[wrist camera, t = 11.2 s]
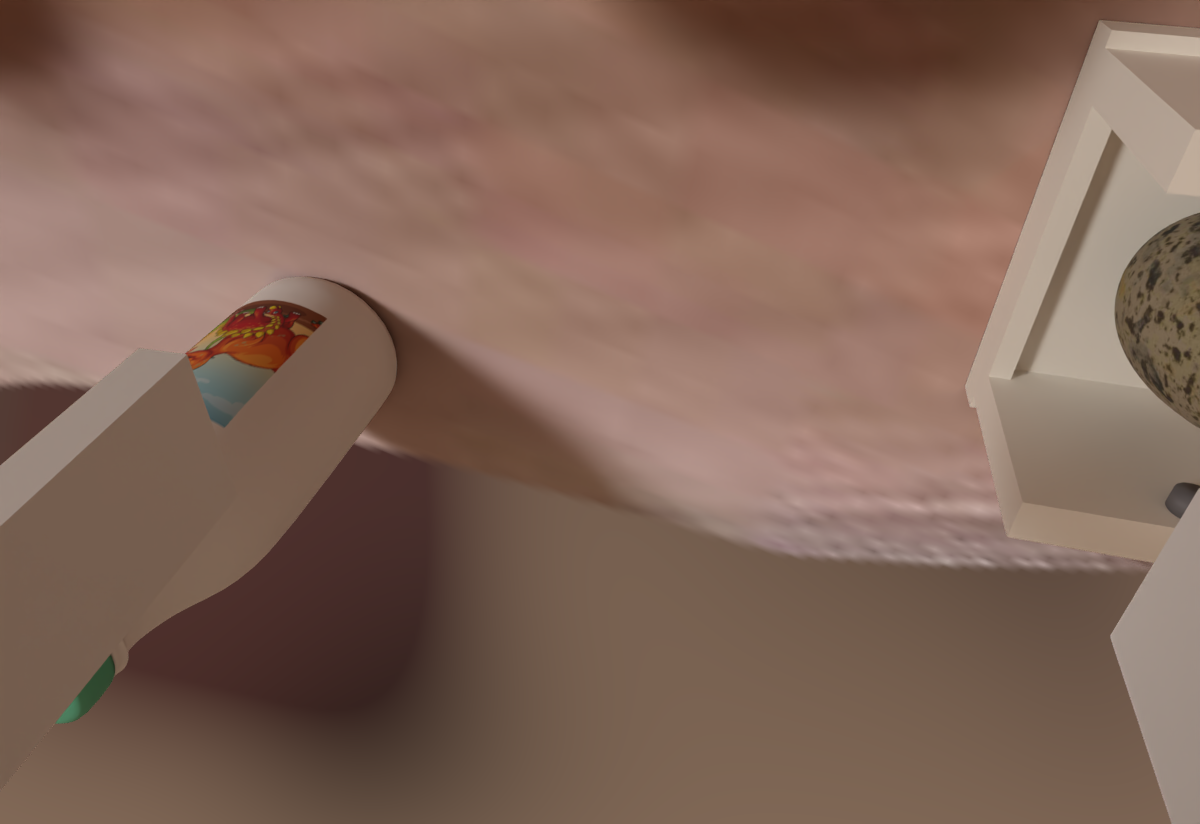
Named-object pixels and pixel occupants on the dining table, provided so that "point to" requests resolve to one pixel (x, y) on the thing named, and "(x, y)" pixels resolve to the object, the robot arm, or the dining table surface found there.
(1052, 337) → the holder
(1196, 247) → the decorative egg
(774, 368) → the dining table surface
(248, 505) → the milk bottle
